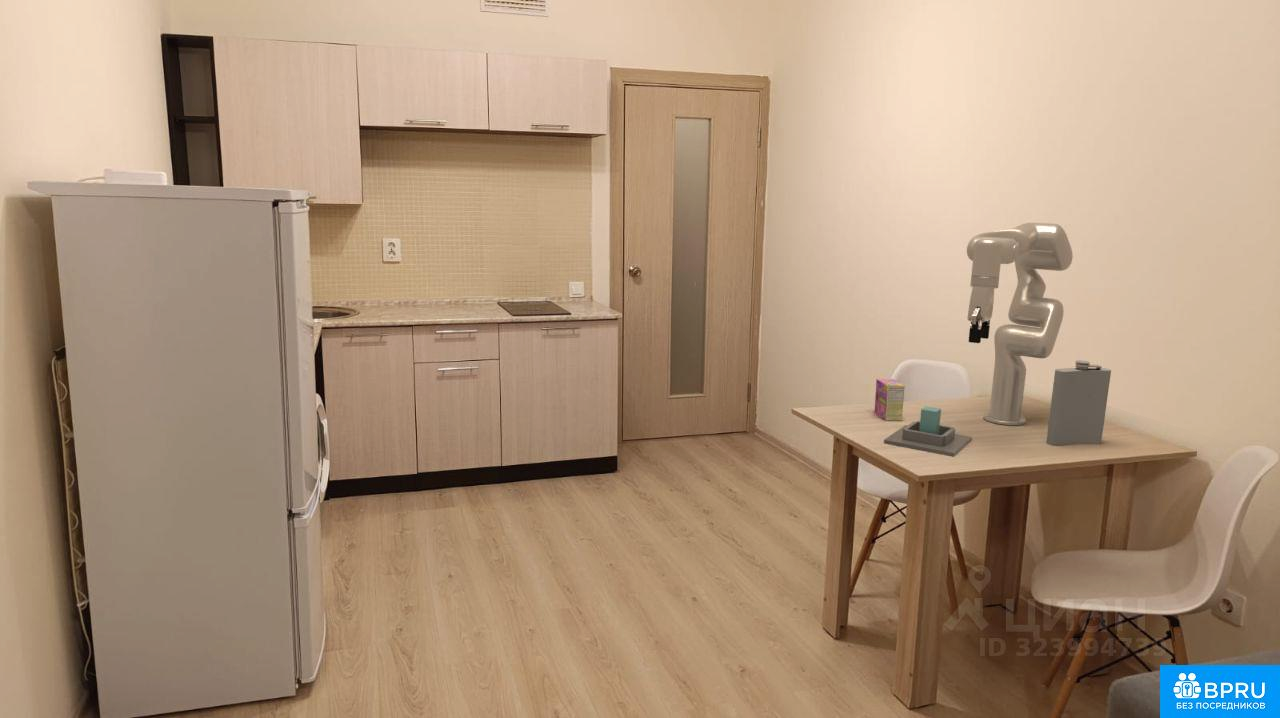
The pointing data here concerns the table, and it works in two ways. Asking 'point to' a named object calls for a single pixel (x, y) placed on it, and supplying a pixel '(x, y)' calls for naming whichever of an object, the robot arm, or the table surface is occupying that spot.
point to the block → (930, 420)
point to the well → (929, 439)
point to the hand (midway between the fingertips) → (978, 340)
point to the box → (889, 399)
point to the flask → (1078, 405)
